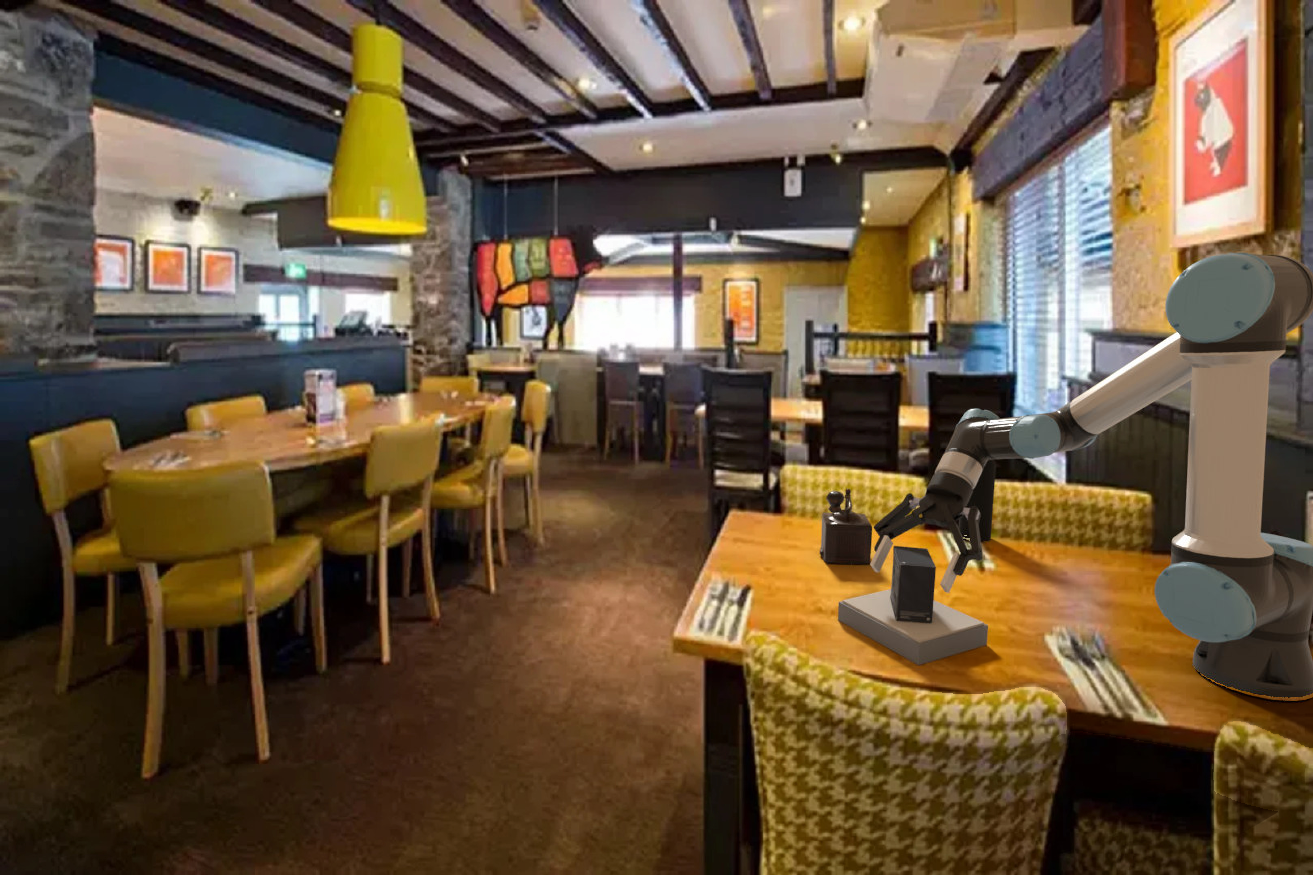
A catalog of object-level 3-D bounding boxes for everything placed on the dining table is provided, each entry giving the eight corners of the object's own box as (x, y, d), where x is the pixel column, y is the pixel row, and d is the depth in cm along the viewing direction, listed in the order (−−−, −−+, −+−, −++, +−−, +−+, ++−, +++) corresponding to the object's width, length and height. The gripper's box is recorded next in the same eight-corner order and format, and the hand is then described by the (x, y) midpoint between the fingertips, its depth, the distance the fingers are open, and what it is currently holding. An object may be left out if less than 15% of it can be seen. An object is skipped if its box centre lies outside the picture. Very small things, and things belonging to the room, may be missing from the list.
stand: (986, 644, 127) (988, 623, 127) (918, 665, 121) (919, 642, 120) (901, 604, 145) (902, 584, 144) (838, 620, 138) (838, 599, 138)
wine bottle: (956, 539, 184) (964, 421, 179) (959, 531, 191) (967, 417, 186) (989, 543, 181) (998, 423, 176) (991, 535, 187) (999, 419, 182)
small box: (934, 624, 126) (938, 566, 125) (895, 621, 128) (898, 564, 126) (925, 600, 137) (928, 546, 135) (889, 598, 138) (891, 544, 136)
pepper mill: (817, 549, 178) (819, 477, 175) (863, 550, 177) (866, 477, 174) (824, 572, 163) (827, 493, 160) (875, 573, 162) (879, 494, 159)
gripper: (1027, 505, 131) (983, 608, 123) (900, 482, 149) (855, 570, 142) (1016, 481, 126) (970, 586, 119) (886, 460, 145) (840, 550, 138)
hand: (908, 578), depth 130 cm, fingers open, 13 cm apart
